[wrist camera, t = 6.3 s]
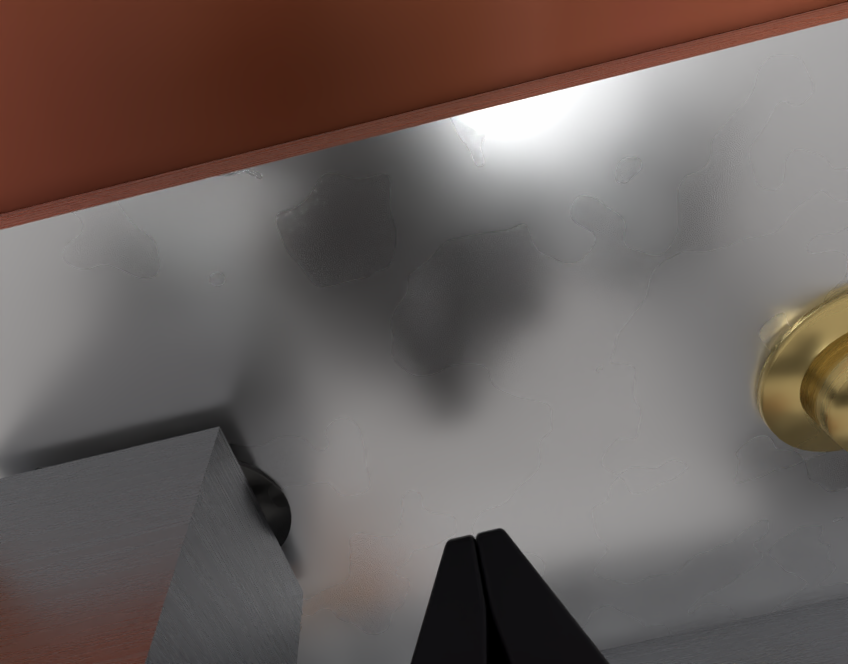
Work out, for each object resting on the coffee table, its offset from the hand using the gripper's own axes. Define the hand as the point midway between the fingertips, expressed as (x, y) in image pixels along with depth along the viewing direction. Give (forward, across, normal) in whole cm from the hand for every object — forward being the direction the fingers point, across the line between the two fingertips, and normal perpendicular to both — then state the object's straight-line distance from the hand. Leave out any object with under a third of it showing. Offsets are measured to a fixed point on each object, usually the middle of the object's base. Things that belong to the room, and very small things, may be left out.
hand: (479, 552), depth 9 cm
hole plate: (+3, -1, +1) cm, 3 cm away
